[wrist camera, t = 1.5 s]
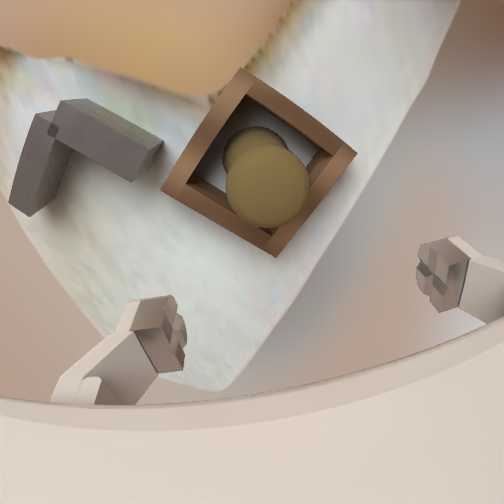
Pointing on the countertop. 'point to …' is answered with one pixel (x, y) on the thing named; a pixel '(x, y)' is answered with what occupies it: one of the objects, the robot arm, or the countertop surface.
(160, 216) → the countertop surface
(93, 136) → the v block
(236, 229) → the sleeve
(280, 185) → the cork
